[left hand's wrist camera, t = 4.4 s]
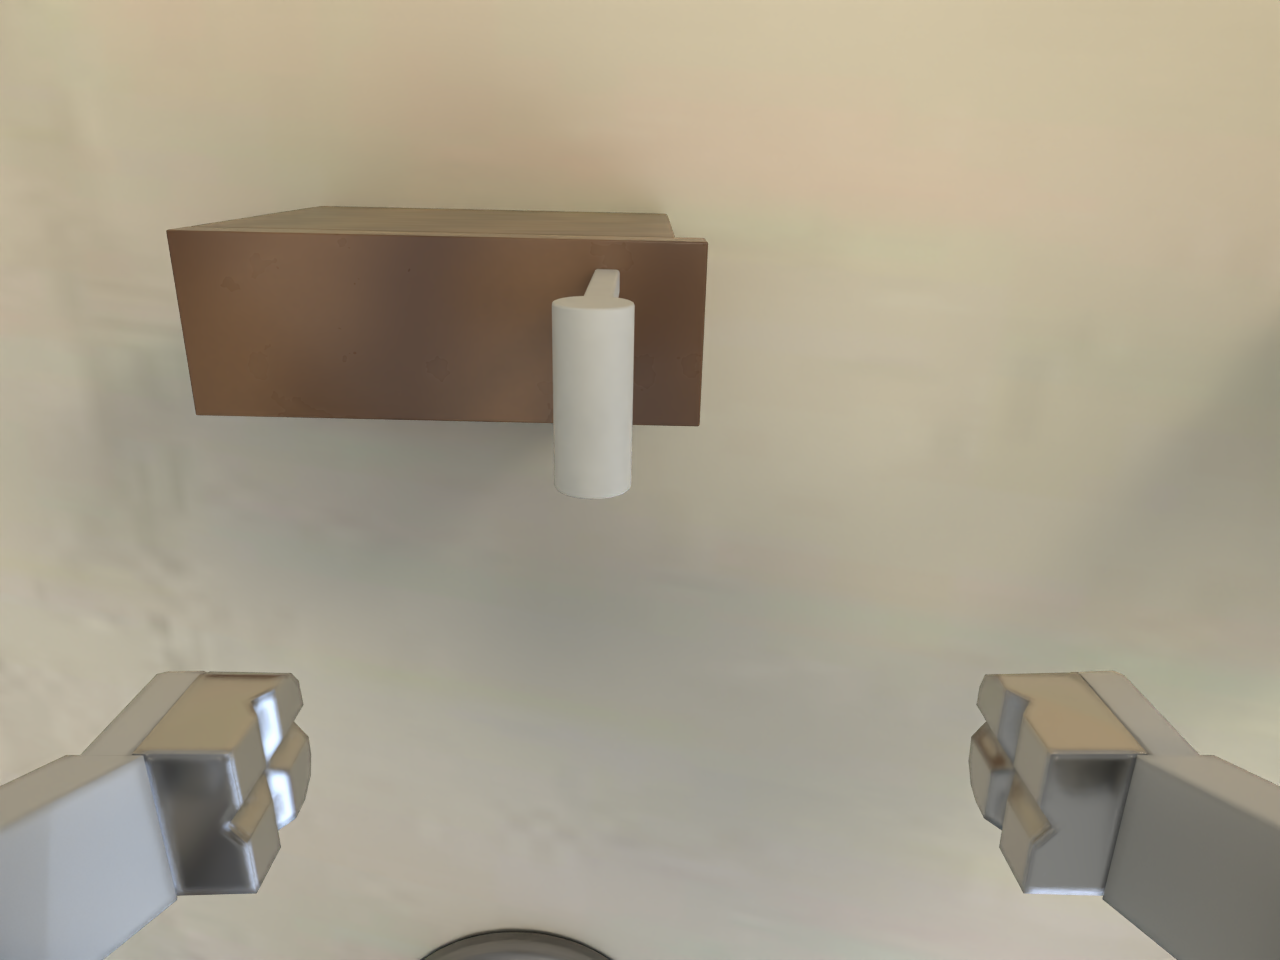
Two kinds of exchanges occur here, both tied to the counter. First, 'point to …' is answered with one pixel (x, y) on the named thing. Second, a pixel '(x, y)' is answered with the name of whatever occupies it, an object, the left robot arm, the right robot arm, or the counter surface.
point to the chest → (460, 221)
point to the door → (450, 332)
